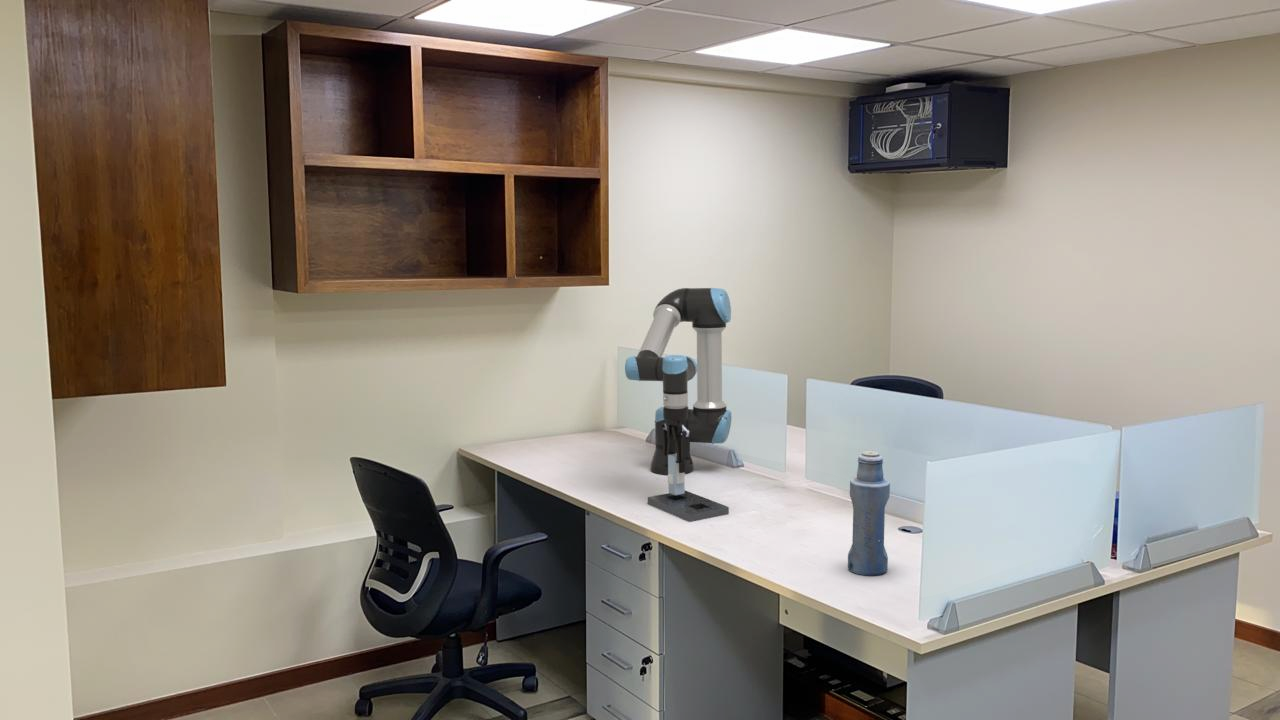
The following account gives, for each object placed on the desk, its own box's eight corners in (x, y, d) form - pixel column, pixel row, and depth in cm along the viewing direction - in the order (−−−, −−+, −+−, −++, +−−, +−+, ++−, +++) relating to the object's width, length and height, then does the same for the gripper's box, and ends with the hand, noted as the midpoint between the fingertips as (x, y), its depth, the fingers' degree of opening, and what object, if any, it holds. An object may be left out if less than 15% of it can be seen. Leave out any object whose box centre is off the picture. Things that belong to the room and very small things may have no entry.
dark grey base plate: (685, 499, 316) (685, 490, 315) (728, 516, 296) (728, 506, 296) (647, 506, 308) (647, 497, 308) (690, 524, 289) (689, 514, 289)
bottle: (849, 561, 255) (851, 447, 251) (889, 565, 252) (891, 449, 248) (846, 574, 246) (847, 455, 242) (887, 577, 243) (889, 457, 239)
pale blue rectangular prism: (678, 490, 310) (677, 453, 308) (684, 493, 307) (684, 455, 305) (666, 493, 307) (666, 455, 306) (673, 495, 304) (672, 457, 303)
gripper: (650, 403, 308) (651, 477, 312) (680, 412, 294) (681, 489, 298) (670, 400, 312) (671, 473, 316) (701, 409, 298) (702, 485, 302)
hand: (676, 480), depth 307 cm, fingers closed on pale blue rectangular prism, 4 cm apart
